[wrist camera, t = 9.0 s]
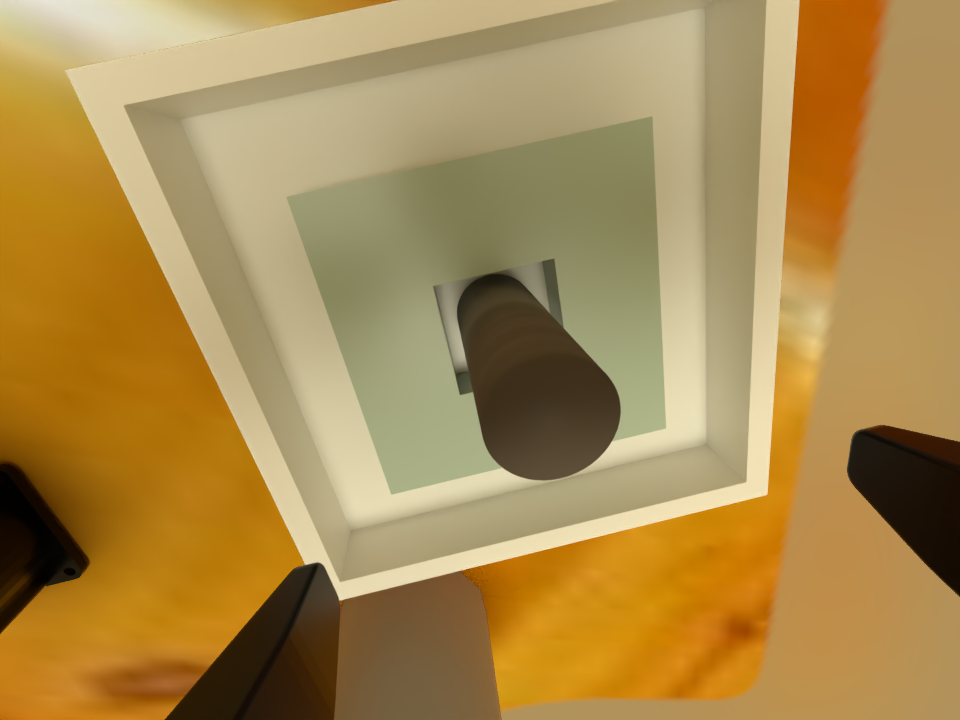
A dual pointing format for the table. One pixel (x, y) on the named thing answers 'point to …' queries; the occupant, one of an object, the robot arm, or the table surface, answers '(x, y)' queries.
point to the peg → (533, 383)
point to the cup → (417, 654)
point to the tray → (443, 108)
